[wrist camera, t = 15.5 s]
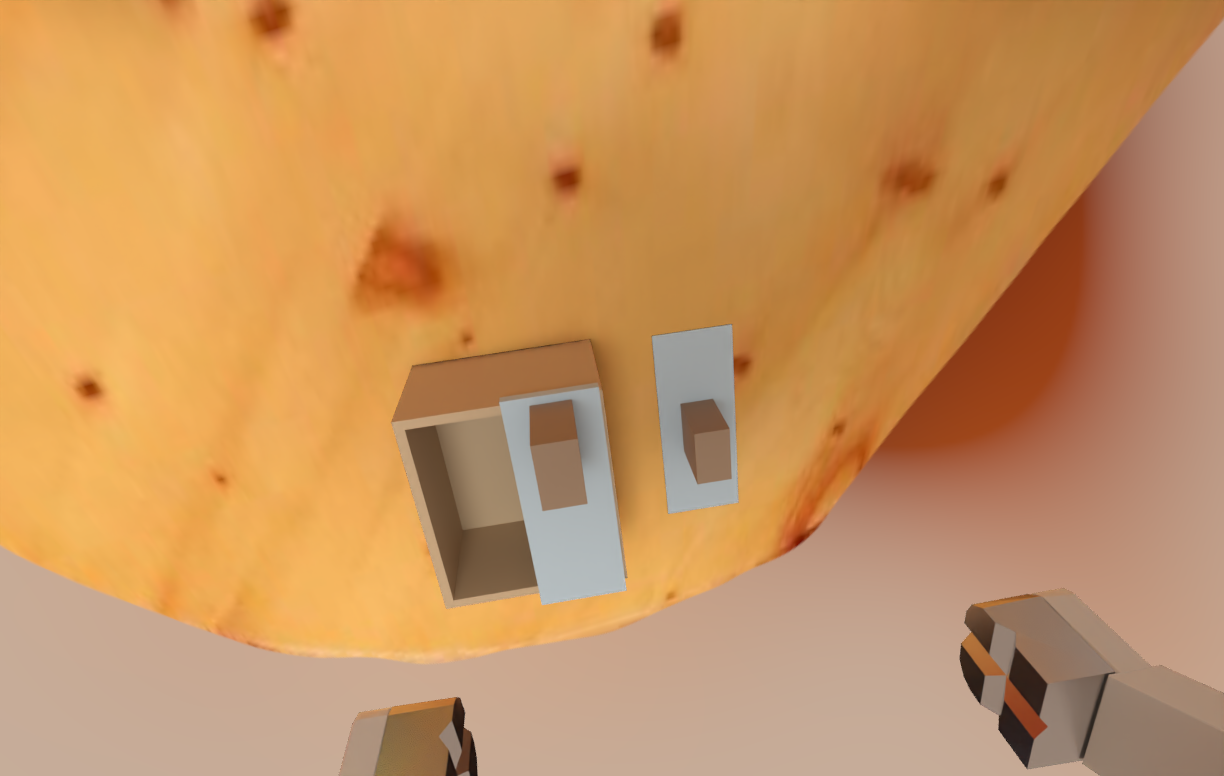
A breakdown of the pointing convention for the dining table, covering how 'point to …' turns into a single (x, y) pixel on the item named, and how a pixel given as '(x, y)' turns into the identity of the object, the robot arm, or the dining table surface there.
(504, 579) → the open cardboard box
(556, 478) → the lid
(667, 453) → the lid
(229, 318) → the dining table surface
